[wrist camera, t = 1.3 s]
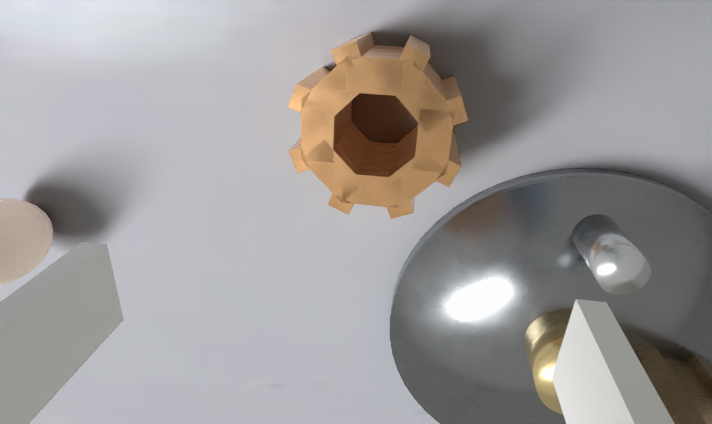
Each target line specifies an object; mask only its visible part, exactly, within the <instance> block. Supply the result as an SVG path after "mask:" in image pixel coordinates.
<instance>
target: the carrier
mask: <svg viewBox="0 0 712 424" xmlns="http://www.w3.org/2000/svg"><path fill="white" fill-rule="evenodd" d="M576 299H581V300H590V301H598V302H607V304H608V306H609V308H610V310H611V311H612V313H613V315H614V317H615V318H616V320H617V322H618V324H619V326H620V327H621V329H622V331H623V333H624V335H625V336H626V338H627V340H628V342H629V343H630V345H631V347H632V349H633V351H634V352H635V354H636V356H637V358H638V359H639V361H640V363H641V365H642V367H643V368H644V370H645V372H646V374H647V375H648V377H649V379H650V381H651V383H652V384H653V386H654V388H655V390H656V392H657V393H658V395H659V397H660V399H661V400H662V402H663V404H664V406H665V408H666V409H667V411H668V413H669V415H670V416H671V418H672V420H673V422H674V424H712V213H710V212H709V211H708V210H706V209H705V208H704V207H702V206H701V205H700V204H698V203H697V202H695V201H694V200H692V199H691V198H689V197H687V196H686V195H684V194H682V193H681V192H679V191H677V190H676V189H673V188H671V187H669V186H666V185H664V184H662V183H659V182H657V181H655V180H652V179H648V178H644V177H641V176H637V175H634V174H630V173H625V172H618V171H611V170H605V169H578V168H575V169H563V170H552V171H545V172H541V173H536V174H531V175H526V176H522V177H519V178H516V179H513V180H510V181H507V182H503V183H500V184H498V185H495V186H493V187H491V188H489V189H487V190H485V191H482V192H480V193H478V194H476V195H474V196H473V197H471V198H469V199H468V200H466V201H464V202H463V203H461V204H460V205H458V206H456V207H455V208H453V209H452V210H451V211H450V212H448V213H447V214H446V215H445V216H443V217H442V218H441V219H440V220H439V221H437V222H436V223H435V224H434V225H433V226H432V227H431V228H430V229H429V231H428V232H427V233H426V234H425V235H424V236H423V237H422V238H421V239H420V241H419V242H418V243H417V245H416V246H415V248H414V249H413V250H412V252H411V253H410V255H409V257H408V258H407V260H406V262H405V264H404V266H403V268H402V270H401V272H400V275H399V278H398V281H397V284H396V287H395V290H394V296H393V301H392V307H391V316H390V341H391V347H392V354H393V357H394V360H395V363H396V366H397V370H398V372H399V374H400V376H401V378H402V380H403V382H404V384H405V386H406V387H407V388H408V390H409V391H410V393H411V394H412V396H413V397H414V399H415V400H416V401H417V402H418V403H419V404H420V405H421V406H422V408H423V409H424V410H425V411H426V412H427V413H428V414H429V415H431V416H432V417H433V418H434V419H435V420H436V421H438V422H439V423H440V424H566V421H565V418H564V415H563V412H562V408H561V405H560V402H559V399H558V396H557V393H556V389H555V386H554V383H553V380H552V374H553V371H554V367H555V364H556V361H557V358H558V355H559V351H560V348H561V345H562V342H563V339H564V335H565V332H566V329H567V326H568V323H569V319H570V316H571V313H572V310H573V307H574V303H575V300H576Z"/></svg>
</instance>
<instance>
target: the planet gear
mask: <svg viewBox="0 0 712 424" xmlns="http://www.w3.org/2000/svg"><path fill="white" fill-rule="evenodd" d="M331 51H332V54H333V57H334V60H335V63H336V65H337V66H336V67H335V68H334V69H333V70H332V71H330V70H328V69H326V68H324V67H322V68H320V69H319V70H317V71H316V72H314V73H313V74H311V75H310V76H308V77H307V78H305V79H304V80H302V81H301V82H299V83H298V84H297V85H296V88H295V90H294V93H293V95H292V98H291V100H290V103H289V105H288V107H289V108H291V109H293V110H295V111H297V112H299V113H301V138H300V139H299V140H298V141H297V143H296V144H295V145H294V146H293V147H292V148H291V149H290V150H289V153H290V156H291V158H292V161H293V163H294V165H295V168H296V170H297V173H300V172H303V171H306V170H309V169H311V170H312V172H313V173H314V174H315V175H316V176H317V177H318V178H319V179H320V180H321V181H322V182H323V183H324V184H325V185H326V186H327V187H328V189H329V190H330V191H331V192H332V193H333V194H332V196H331V198H330V201H329V203H328V205H330V206H332V207H334V208H336V209H338V210H340V211H342V212H344V213H346V214H349V213H350V211H351V209H352V207H353V205H354V204H363V205H373V206H383V207H387V209H388V212H389V215H390V218H391V219H393V218H396V217H400V216H404V215H408V214H412V213H414V197H415V196H416V195H418V194H419V193H420V192H422V191H423V190H424V189H426V188H427V187H428V186H430V185H431V184H432V183H434V182H435V181H438V182H440V183H442V184H444V185H446V186H448V187H449V186H450V184H451V183H452V181H453V180H454V178H455V176H456V175H457V173H458V172H459V170H460V168H461V167H462V166H461V161H460V157H459V152H458V147H457V142H456V137H455V134H454V133H452V131H453V125H456V124H460V123H463V122H466V121H468V117H467V114H466V110H465V106H464V102H463V99H462V95H461V92H460V90H459V87H458V84H457V81H456V78H455V76H452V77H449V78H446V79H443V80H442V79H441V77H440V76H439V75H438V74H437V73H436V71H435V70H434V69H433V68H432V66H431V65H430V64H429V63H428V61H429V59H430V44H428V43H426V42H424V41H422V40H420V39H418V38H416V37H414V36H412V35H410V37H409V39H408V41H407V43H406V45H405V47H401V46H385V45H375V44H374V41H373V38H372V35H371V32H370V33H367V34H365V35H362V36H359V37H357V38H354V39H351V40H349V41H348V42H346V43H344V44H342V45H340V46H338V47H336V48H335V49H333V50H331ZM359 93H365V94H379V95H393V96H396V97H397V98H398V99H399V100H400V102H401V103H402V104H403V105H404V106H405V108H406V109H407V110H408V111H409V112H410V113H411V115H412V116H413V117H414V118H415V119H416V121H417V122H418V125H417V127H416V128H414V129H413V130H412V131H411V132H410V133H408V134H407V135H406V136H405V137H403V138H402V139H401V140H400V141H399V142H397V143H385V142H373V141H369V140H368V139H367V138H366V137H365V136H364V135H363V134H362V133H361V131H360V130H359V129H358V128H357V127H356V126H355V125H354V124H353V122H352V121H351V113H352V100H353V99H354V98H355V97H356V96H357V95H358V94H359Z"/></svg>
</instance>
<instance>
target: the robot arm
mask: <svg viewBox="0 0 712 424" xmlns="http://www.w3.org/2000/svg"><path fill="white" fill-rule="evenodd" d="M122 321H123V316H122V311H121V307H120V302H119V298H118V293H117V289H116V284H115V279H114V275H113V270H112V266H111V261H110V257H109V252H108V248H107V244H99V243H90V242H81V243H80V244H78V245H77V246H76V247H74V248H73V249H72V250H70V251H69V252H68V253H66V254H65V255H64V256H62V257H61V258H60V259H58V260H57V261H55V262H54V263H53V264H51V265H50V266H49V267H47V268H46V269H45V270H43V271H42V272H41V273H39V274H38V275H37V276H35V277H34V278H33V279H31V280H30V281H29V282H27V283H26V284H25V285H23V286H22V287H20V288H19V289H18V290H16V291H15V292H14V293H12V294H11V295H10V296H8V297H7V298H6V299H4V300H3V301H2V302H0V424H29V423H30V422H31V421H32V420H33V419H34V417H35V416H36V415H37V414H38V413H39V412H40V411H41V410H42V409H43V408H44V406H45V405H46V404H47V403H48V402H49V401H50V400H51V399H52V398H53V397H54V395H55V394H56V393H57V392H58V391H59V390H60V389H61V388H62V387H63V386H64V385H65V383H66V382H67V381H68V380H69V379H70V378H71V377H72V376H73V375H74V374H75V372H76V371H77V370H78V369H79V368H80V367H81V366H82V365H83V364H84V363H85V361H86V360H87V359H88V358H89V357H90V356H91V355H92V354H93V353H94V352H95V350H96V349H97V348H98V347H99V346H100V345H101V344H102V343H103V342H104V341H105V339H106V338H107V337H108V336H109V335H110V334H111V333H112V332H113V331H114V330H115V328H116V327H117V326H118V325H119V324H120V323H121V322H122ZM552 380H553V383H554V386H555V389H556V393H557V396H558V399H559V402H560V405H561V408H562V412H563V415H564V418H565V421H566V424H674V422H673V420H672V418H671V416H670V415H669V413H668V411H667V409H666V408H665V406H664V404H663V402H662V400H661V399H660V397H659V395H658V393H657V392H656V390H655V388H654V386H653V384H652V383H651V381H650V379H649V377H648V375H647V374H646V372H645V370H644V368H643V367H642V365H641V363H640V361H639V359H638V358H637V356H636V354H635V352H634V351H633V349H632V347H631V345H630V343H629V342H628V340H627V338H626V336H625V335H624V333H623V331H622V329H621V327H620V326H619V324H618V322H617V320H616V318H615V317H614V315H613V313H612V311H611V310H610V308H609V306H608V304H607V302H598V301H590V300H581V299H576V300H575V303H574V307H573V310H572V313H571V316H570V319H569V323H568V326H567V329H566V332H565V335H564V339H563V342H562V345H561V348H560V351H559V355H558V358H557V361H556V364H555V367H554V371H553V374H552Z"/></svg>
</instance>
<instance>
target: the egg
mask: <svg viewBox="0 0 712 424" xmlns="http://www.w3.org/2000/svg"><path fill="white" fill-rule="evenodd" d="M52 240H53V227H52V223H51V220H50V219H49V217H48V216H47V214H46V213H45V212H44V211H43V210H42V209H40V208H39V207H37V206H36V205H34V204H31V203H29V202H26V201H22V200H18V199H10V198H9V199H0V286H1V285H5V284H7V283H10V282H12V281H14V280H16V279H18V278H20V277H22V276H24V275H25V274H27V273H29V272H30V271H31V270H33V269H34V268H35V267H36V266H38V265H39V264H40V263H41V261H42V260H43V259H44V258H45V256H46V255H47V253H48V251H49V249H50V247H51V245H52Z"/></svg>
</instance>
